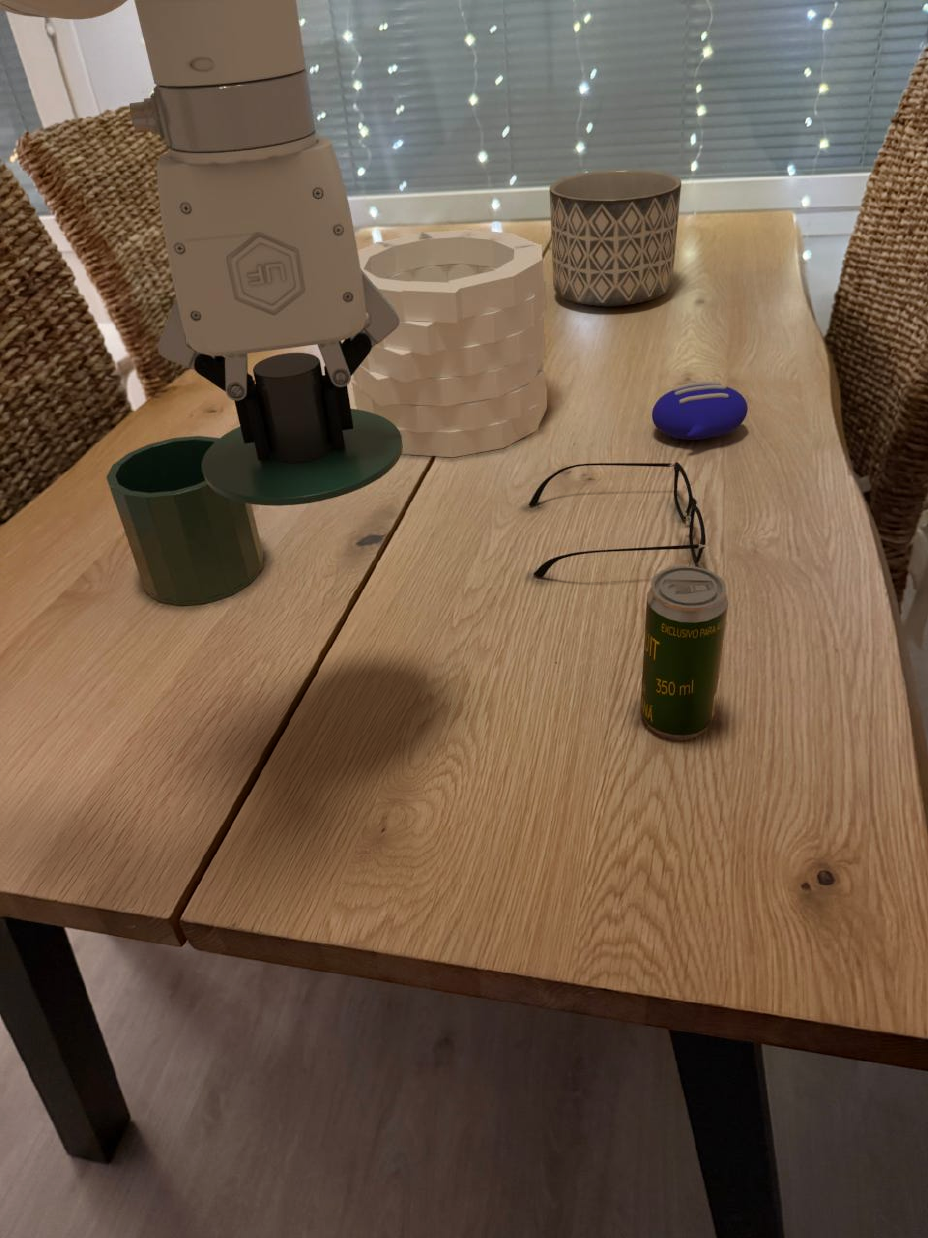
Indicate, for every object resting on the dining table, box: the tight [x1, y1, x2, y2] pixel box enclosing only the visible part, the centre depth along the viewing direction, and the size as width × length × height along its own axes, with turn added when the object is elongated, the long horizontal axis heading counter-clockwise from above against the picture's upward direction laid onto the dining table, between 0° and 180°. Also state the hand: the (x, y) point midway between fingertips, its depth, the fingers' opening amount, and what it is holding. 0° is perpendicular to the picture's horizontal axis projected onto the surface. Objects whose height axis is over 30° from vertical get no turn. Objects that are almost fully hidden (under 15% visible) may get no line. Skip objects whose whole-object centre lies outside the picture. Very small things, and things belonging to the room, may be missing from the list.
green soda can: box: [639, 565, 729, 741], centre depth 65 cm, size 5×5×12 cm
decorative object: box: [651, 380, 749, 441], centre depth 103 cm, size 10×6×10 cm
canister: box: [106, 435, 265, 606], centre depth 86 cm, size 12×12×12 cm
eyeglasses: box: [528, 461, 707, 578], centre depth 88 cm, size 16×16×4 cm
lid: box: [202, 352, 403, 507], centre depth 57 cm, size 13×13×7 cm
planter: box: [549, 168, 682, 308], centre depth 141 cm, size 19×19×16 cm
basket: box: [351, 229, 548, 458], centre depth 109 cm, size 25×24×19 cm
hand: (301, 442), depth 58 cm, fingers closed on lid, 4 cm apart
